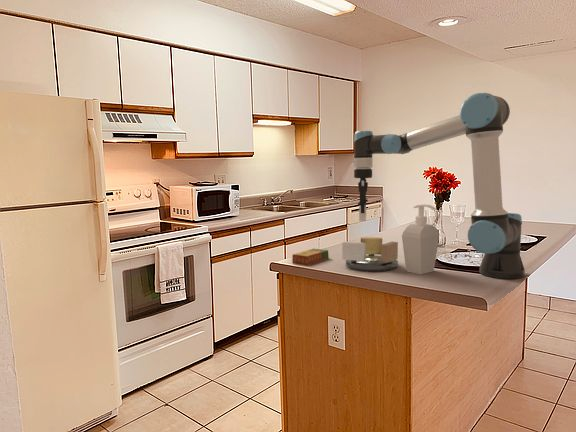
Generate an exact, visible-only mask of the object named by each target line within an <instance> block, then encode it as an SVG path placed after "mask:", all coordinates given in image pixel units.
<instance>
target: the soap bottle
mask: <svg viewBox="0 0 576 432" xmlns="http://www.w3.org/2000/svg"><path fill="white" fill-rule="evenodd" d="M413 208H414V209H418V213H417V214H418V215H415V222H414V223H411V224H409V225H407V226H406V227H405V229H404V230H403V231H402V235H401V239H402V241H401V242H402V249H403V255H404V256H403V257H404V263H405V271H406V272H409V273H413V274H417V275H423V274H427V273H432V272H434V271H435V266H436V259H437V254H438V253H437V252H438V247H439V241H440V232H439V230H438V229H437V227H436V226H434V225H433V224H428V223H427V216H426V215H425V212H424V211H425V208H429V209H431V210H433V211H435V210H436V209H437V208H436V207H435V206H433V205H431V204H425V203H424V204H419V205H414V206H413Z"/></svg>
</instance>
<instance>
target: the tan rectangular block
mask: <svg viewBox="0 0 576 432" xmlns="http://www.w3.org/2000/svg"><path fill="white" fill-rule="evenodd" d="M398 244H399V242H398V241H389V242H386V243H382V245H381V255H380V256H381V262H384V263H392V261H393V260H398V256H399V255H398V254H399V249H398V248H399V247H398V246H399V245H398Z"/></svg>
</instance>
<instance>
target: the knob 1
mask: <svg viewBox="0 0 576 432" xmlns="http://www.w3.org/2000/svg"><path fill="white" fill-rule="evenodd" d="M341 244H342V245H341V246H342V250H341V251H342V260H345V261H346V260H351V262H357V261H365V260H366V255H367V254H366V243H361V242H354V241H353V242H352V241H343V242H342V243H341Z"/></svg>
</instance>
